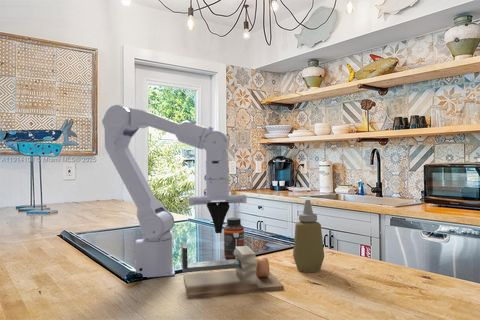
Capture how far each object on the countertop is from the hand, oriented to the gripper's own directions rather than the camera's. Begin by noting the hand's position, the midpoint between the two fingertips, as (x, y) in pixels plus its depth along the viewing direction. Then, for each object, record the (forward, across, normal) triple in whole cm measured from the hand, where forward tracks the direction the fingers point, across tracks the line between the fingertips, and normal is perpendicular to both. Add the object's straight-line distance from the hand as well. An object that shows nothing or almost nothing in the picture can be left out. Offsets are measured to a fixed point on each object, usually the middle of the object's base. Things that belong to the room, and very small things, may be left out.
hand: (218, 232), depth 94 cm
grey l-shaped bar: (+6, -2, -8) cm, 10 cm away
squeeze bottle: (+11, +23, -3) cm, 26 cm away
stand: (+10, +2, -8) cm, 13 cm away
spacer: (+7, +8, -8) cm, 13 cm away
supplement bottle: (+11, +7, +15) cm, 20 cm away
